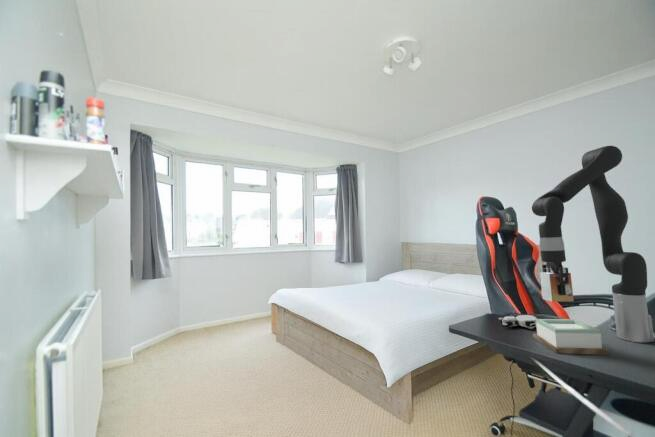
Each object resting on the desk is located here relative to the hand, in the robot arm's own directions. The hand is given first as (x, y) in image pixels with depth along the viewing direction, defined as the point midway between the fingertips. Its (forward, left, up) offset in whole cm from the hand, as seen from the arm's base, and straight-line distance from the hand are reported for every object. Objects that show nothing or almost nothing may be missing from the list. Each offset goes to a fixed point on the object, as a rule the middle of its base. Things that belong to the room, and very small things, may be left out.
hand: (557, 293), depth 115 cm
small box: (0, 0, -3) cm, 3 cm away
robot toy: (+6, -23, -19) cm, 31 cm away
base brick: (-1, +1, -17) cm, 18 cm away
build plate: (-1, +1, -19) cm, 19 cm away
